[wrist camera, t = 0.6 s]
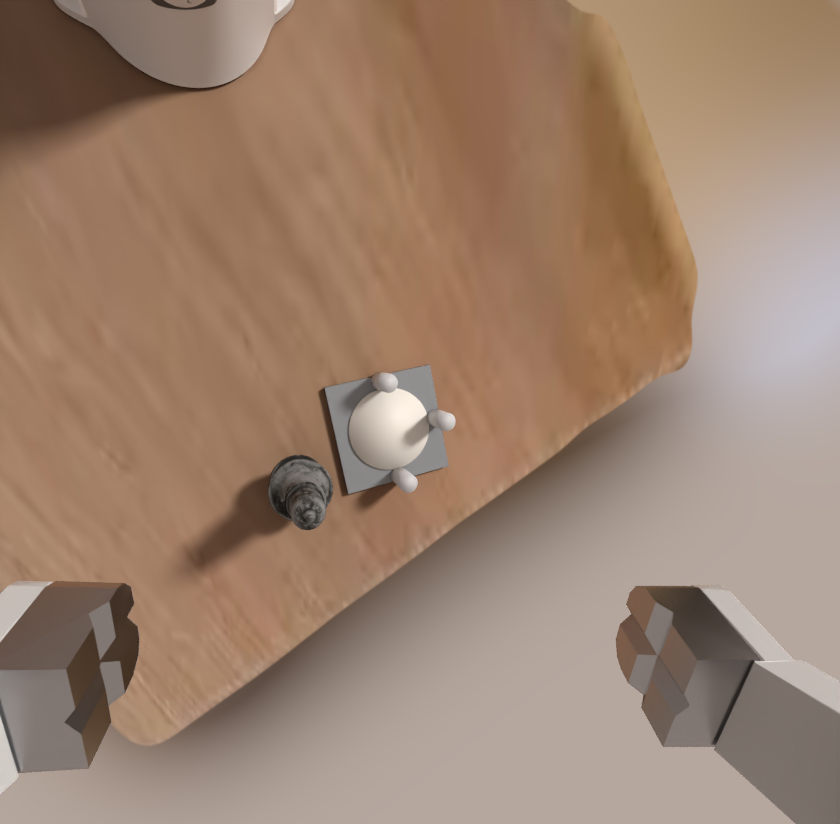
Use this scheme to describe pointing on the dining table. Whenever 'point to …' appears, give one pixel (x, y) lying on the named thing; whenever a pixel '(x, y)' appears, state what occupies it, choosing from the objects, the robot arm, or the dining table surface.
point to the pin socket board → (388, 428)
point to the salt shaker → (300, 491)
